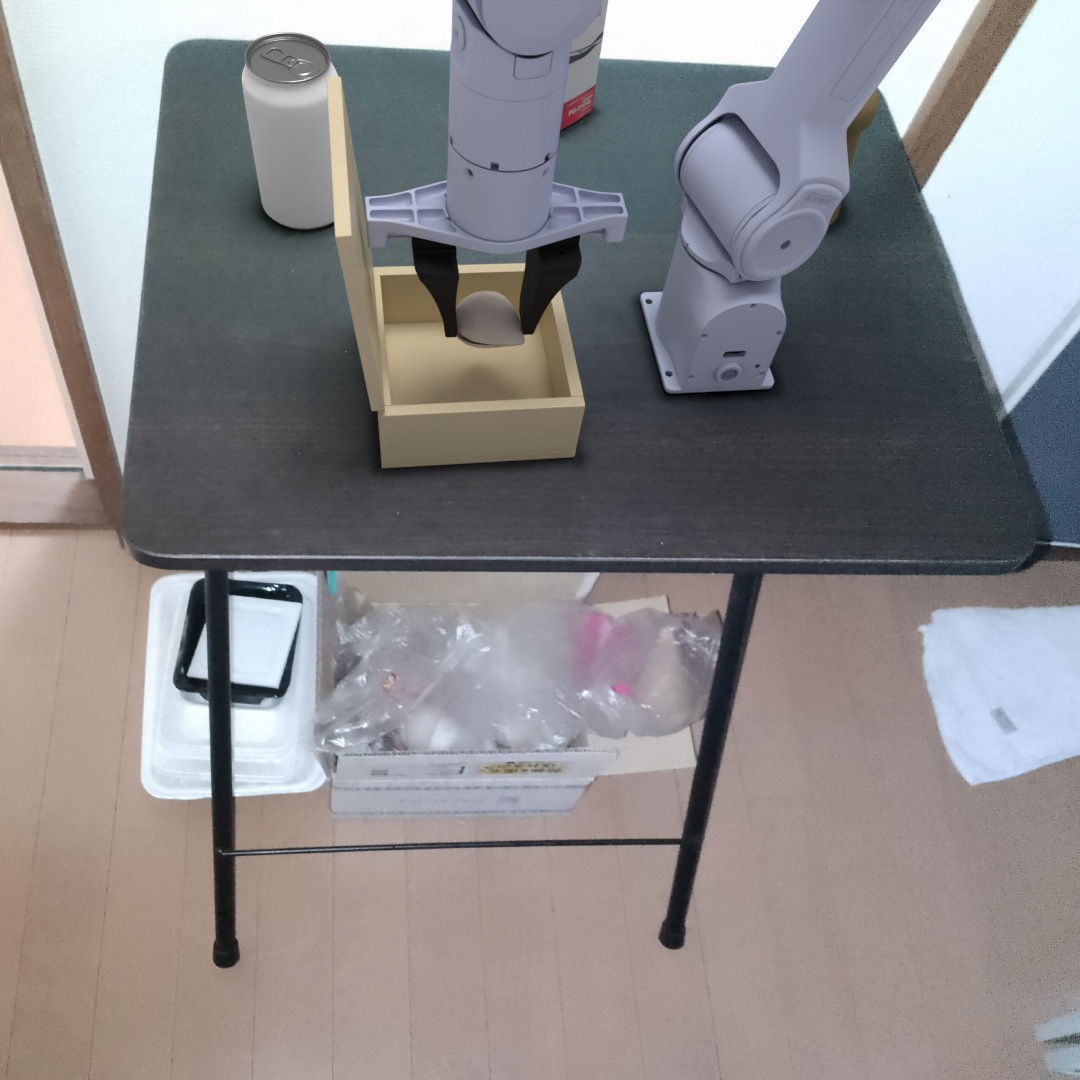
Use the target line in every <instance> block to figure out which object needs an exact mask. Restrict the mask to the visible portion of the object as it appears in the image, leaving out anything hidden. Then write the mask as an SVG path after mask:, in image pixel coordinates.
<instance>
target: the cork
mask: <svg viewBox="0 0 1080 1080" xmlns="http://www.w3.org/2000/svg"><path fill="white" fill-rule="evenodd" d="M879 106H880V95H879V91H878V87H877V88H876V90H875V91H874V93H873V94H872V95H871V97H870V98H869V99H868V101H867V102H866V103H865V105H864V106H863V108H862V109H861V110H860V112H859V113H858V114H857V116H856V117H855V118H854V120H853V121H852V123H851V124H850V125H849V127H848V128H847V132H846V140H847V153H848V165H849V174H850V172H851V169H852V165H853V161H854V158H855V156H856V155H855V154H856V150H857V147H858V143H859V140H860V136H861V133H863V132H864V131H865V130H867V129H868V128H869V126H870V125H871V124H872V123H873V121H874V119H875V117H876V116H877V113H878V110H879ZM842 202H843V200H842V201H841V202H840V203H839V205H838V206H837V208H836V209H835V211H834V213H833V215H832V217H831V220H830V223H829V226H830V225H832V224H834V223H835V222H836V220H837V218H838V217H839V213H840V210H841V205H842Z"/></svg>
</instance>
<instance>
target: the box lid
mask: <svg viewBox="0 0 1080 1080" xmlns="http://www.w3.org/2000/svg"><path fill="white" fill-rule="evenodd" d="M326 82H327V100H328V118H329V136H330V154H331V173H332V191H333V209H334V222H333V225H334V227H333V228H334V239H335V244H336V248H337V254H338V258H339V262H340V263H339V264H340V267H341V272H342V276H343V283H344V286H345V287H344V288H345V292H346V296H347V301H348V306H349V310H350V315H351V319H352V325H353V330H354V334H355V335H354V336H355V339H356V344H357V348H358V349H357V350H358V353H359V359H360V362H361V368H362V372H363V373H362V374H363V378H364V382H365V387H366V392H367V396H368V402H369V406H370V410H371V412H377V411H381V410H385V403H384V391H383V379H382V367H381V355H380V343H379V330H378V318H377V306H376V294H375V282H374V270H373V267H374V260H373V254H372V248H369V247H368V239H367V227H366V212H365V206H364V202H363V196H362V195H363V194H362V190H361V185H360V179H359V173H358V167H357V166H358V165H357V161H356V156H355V150H354V143H353V139H352V138H353V137H352V132H351V126H350V121H349V115H348V110H347V109H348V108H347V103H346V97H345V92H344V87H343V80H342V77H341V76H339V75H338V77H327V78H326Z"/></svg>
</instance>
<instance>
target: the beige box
mask: <svg viewBox="0 0 1080 1080" xmlns="http://www.w3.org/2000/svg"><path fill="white" fill-rule="evenodd" d="M525 263H526V262H518V263H517V262H516V263H510V262H509V263H475V264H458V271H459V282H458V289H457V297H456V307H457V305H458V304H459V303H460V301H461V300H462V299H463V298H466V297H468V296H469V295H471V294H473V293H475V292H480V291H493V292H497V293H499V294H501V295H503V296H505V297H506V298H507V299H508V300H509V301H510V303H511V304H512V305H513V307H514V308H515V310H516V312H517V314H518V316H519V319H520V314H519V302H520V293H521V287H522V282H523V276H524V271H525ZM373 270H374V282H375V294H376V306H377V318H378V330H379V343H380V355H381V367H382V379H383V391H384V403H385V410H381V411H376V412H377V422H378V423H377V425H378V437H379V438H378V439H379V449H380V451H379V452H380V462H381V464H380V465H381V469H392V468H393V469H394V468H395V469H396V468H413V467H428V466H429V467H430V466H444V465H445V466H446V465H447V466H448V465H462V464H463V465H464V464H480V463H496V462H497V463H498V462H513V461H529V460H530V461H531V460H548V459H549V460H550V459H565V458H575V457H576V452H577V446H578V441H579V437H580V432H581V428H582V423H583V419H584V415H585V409H586V401H585V398H584V391H583V387H582V382H581V377H580V373H579V369H578V364H577V360H576V355H575V351H574V346H573V345H574V344H573V342H572V341H573V340H572V337H571V332H570V326H569V322H568V318H567V313H566V309H565V303H564V300H563V294H562V291H561V290H562V289H561V290H560V291H559V292H558V293H557V294H556V295H555V297H554V298H553V299H552V301H551V302H550V303H549V305H548V307H547V308H546V310H545V311H544V313H543V315H542V317H541V319H540V321H539V323H538V325H537V327H536V329H535V332H534V334H532V335H524V337H525V343H524V344H522V345H518V346H508V347H499V348H476V347H473V346H469V345H466V344H465V343H463V342H462V341H461V340H459V339H458V338H457V337H451V338H447V337H445V332H444V324H443V320H442V317H441V314H440V311H439V309H438V307H437V305H436V303H435V301H434V299H433V297H432V295H431V294H430V292H429V291H428V290H427V288H426V287H425V286H424V284H423V283H422V282H421V281H420V280H419V278H418V275H417V273H416V271H415V267H414V265H401V266H400V265H399V266H373ZM520 321H521V320H520Z"/></svg>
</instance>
